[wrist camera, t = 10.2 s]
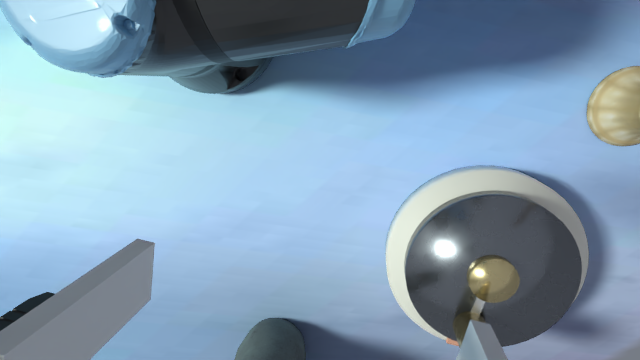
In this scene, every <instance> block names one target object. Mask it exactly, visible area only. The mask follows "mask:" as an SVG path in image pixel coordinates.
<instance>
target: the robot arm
mask: <svg viewBox="0 0 640 360" xmlns="http://www.w3.org/2000/svg"><path fill="white" fill-rule="evenodd" d="M415 2H416V0H0V8H1V10H2V12H3V14H4V15H5V17H6V19H7V21H8V22H9V24H10V25H11V27H12V28H13V30H14V31H15V32H16V33H17V35H18V36H19V37H20V38H21V39H22V40H23V41H24V42H25V43H26V44H27V45H30V46H31V47H32V48H33V49H34V50H35V51H36V52H37V54H38V55H39V56H40V57H42V58H43V59H45V60H46V61H48V62H50V63H52V64H54V65H56V66H58V67H60V68H63V69H66V70H70V71H74V72H81V73H88V74H89V75H91V76H98V77H101V78H104V77H113V76H116V75H140V76H169V77H170V78H172V79H173V80H174V81H176V82H177V83H179V84H180V85H182V86H184V87H186V88H189V89H191V90H194V91H198V92H202V93H210V94H216V93H228V92H233V91H236V90H239V89H241V88H244V87H246V86H247V85H249V84H251V83H252V82H253V81H255V80H256V79H257V78H258V77H259V76H260V75H261V74H262V73H263V72H264V70H265V69H266V68H267V66H268V64H269V63H270V61H271V59H272V57H274V56H281V55H288V54H295V53H302V52H309V51H316V50H323V49H330V48H337V47H342V48H344V49H346V48H349V47H353V46H354V45H355V44H357V43H362V42H367V41H372V40H377V39H382V38H386V37H389V36H391V35H392V34H394V33H396V32H397V31H398V30H399V29H401V28H402V27H403V26H404V25H405V23H406V22H407V20H408V19H409V17H410V15H411V12H412V10H413V7H414V5H415ZM154 245H155V243H153V242H149V241H145V240H141V239H136V240H135V241H133V242H132V243H130V244H129V245H127V246H126V247H124V248H123V249H122V250H120V251H119V252H117V253H116V254H114V255H113V256H111V257H110V258H108V259H107V260H105V261H104V262H102V263H101V264H99V265H98V266H96V267H95V268H93V269H92V270H90V271H89V272H87V273H86V274H84V275H83V276H81V277H80V278H79V279H77V280H76V281H74V282H73V283H71V284H70V285H68V286H67V287H65V288H64V289H62V290H61V291H59V292H58V293H56V294H53V293H50V292H46V293H43V294H41V295H38V296H35V297H33V298H30V299H28V300H26V301H25V302H23V303H22V304H20V305H18V306H17V307H15V308H14V309H13V310H12V311H9V312H7V313H6V314H4V315H3V316H1V317H0V360H90V359H91V358H92V357H93V356H94V355H95V354H96V353H97V352H98V351H99V350H100V349H101V348H102V347H103V346H104V345H105V344H106V343H107V342H108V341H109V340H110V339H111V338H112V337H113V336H114V335H115V334H116V333H117V332H118V331H119V330H120V329H121V328H122V327H123V326H124V325H125V324H126V323H127V322H128V321H129V320H130V319H131V318H132V317H133V316H134V315H135V314H136V313H137V312H138V311H139V310H140V309H141V308H142V307H143V306H144V305H145V304H146V303H147V302H148V301H149V300H150V299H151V286H152V273H153V259H154ZM456 360H508V359H507V357H506V355H505V353H504V351H503V349H502V347H501V345H500V343H499V341H498V339H497V337H496V335H495V333H494V331H493V329H492V327H491V325H490V324H487V323H483V322H479V321H475V320H471V319H470V322H469V325H468V328H467V331H466V333H465V336H464V339H463V342H462V345H461V347H460V350H459V353H458V356H457V359H456Z"/></svg>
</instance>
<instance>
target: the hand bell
mask: <svg viewBox="0 0 640 360" xmlns="http://www.w3.org/2000/svg"><path fill="white" fill-rule="evenodd" d="M587 121H588V124H589V127H590V129H591V130H592V132H593V133H594V134H595V135H596V136H597V137H598V138H599V139H600V140H602V141H604V142H606V143H608V144H611V145H616V146H630V145H636V144H639V143H640V66H632V67H627V68H623V69H620V70H618V71H615V72H613V73H612V74H610V75H609V76H607V77H606V78H605V79H604V80H602V81H601V82H600V83H599V84H598V86H597V87H596V88H595V89H594V91H593V93H592V94H591V96H590V99H589V102H588V106H587Z"/></svg>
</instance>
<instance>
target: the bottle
mask: <svg viewBox="0 0 640 360" xmlns="http://www.w3.org/2000/svg"><path fill="white" fill-rule="evenodd" d="M305 356H306V353H305V345H304V339H303V337H302V334H301V332H300V331H299V330H298V329H297V328H296V327H295V325H293V324H291V323H290V322H288V321H286V320H283V319H279V318H268V319H265V320H262V321H261V322H259V323H258V324H257V325H255V326H254V327H253V328H252V329H251V330H250V331H249V333H248V334H247V336H246V337H245V339H244V340H243V341H242V343H241V345H240V346H239V348H238V350H237V353H236V357H235V360H305Z"/></svg>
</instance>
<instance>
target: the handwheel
mask: <svg viewBox="0 0 640 360" xmlns="http://www.w3.org/2000/svg"><path fill="white" fill-rule="evenodd" d="M404 273H405V279H406V285H407V290H408V293H409V297H410V299H411V302H412V304H413V306H414V308H415V309H416V311H417V312H418V314H419V315H420V316H421V317H422V319H423V320H424V321H425V322H426V323H427V324H428V325H429V326H431V327H432V328H433V329H434V330H436V331H437V332H439V333H440V334H442V335H443V336H445V337H447V338H449V339H451V340H454V341H457V342H458V344H459V347H461V345H462V342H463V339H464V336H465V333H466V331H467V328H468V325H469V322H470V319H471V320H475V321H479V322H483V323H487V324H490V325H491V327H492V329H493V331H494V333H495V335H496V337H497V339H498V341H499V343H500V345H501V347H503V346H509V345H514V344H518V343H521V342H524V341H527V340H529V339H532V338H534V337H536V336H538V335H540V334H541V333H543V332H545V331H546V330H548V329H549V328H550V327H552V326H553V325H554V324H555V323H556V322H558V321H559V320H560V319H561V318H562V317H563V315H564V314H565V313H566V312H567V310H568V309H569V308H570V306H571V304H572V303H573V301H574V299H575V297H576V295H577V292H578V289H579V286H580V282H581V274H582V262H581V256H580V251H579V248H578V246H577V243H576V241H575V239H574V237H573V235H572V234H571V232H570V231H569V229H568V228H567V227H566V226H565V224H564V223H563V222H562V221H561V220H560V219H558V218H557V217H556V216H555V215H554V214H552V213H551V212H550V211H548V210H547V209H545V208H544V207H542V206H541V205H540V204H538V203H536V202H534V201H532V200H530V199H528V198H526V197H523V196H520V195H518V194H513V193H509V192H502V191H480V192H474V193H469V194H465V195H462V196H459V197H456V198H454V199H451V200H449V201H447V202H445V203H444V204H442V205H440V206H439V207H437V208H436V209H435V210H433V211H432V212H431V213H430V214H428V215H427V216H426V217H425V218H424V219H423V220H422V222H421V223H420V224H419V225H418V227H417V228H416V230H415V231H414V233H413V234H412V236H411V238H410V241H409V243H408V246H407V249H406V253H405V260H404Z"/></svg>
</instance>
